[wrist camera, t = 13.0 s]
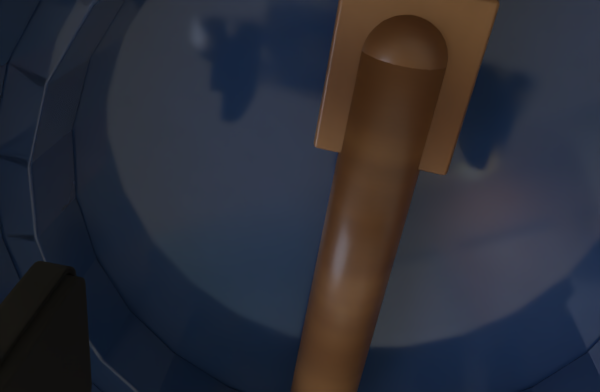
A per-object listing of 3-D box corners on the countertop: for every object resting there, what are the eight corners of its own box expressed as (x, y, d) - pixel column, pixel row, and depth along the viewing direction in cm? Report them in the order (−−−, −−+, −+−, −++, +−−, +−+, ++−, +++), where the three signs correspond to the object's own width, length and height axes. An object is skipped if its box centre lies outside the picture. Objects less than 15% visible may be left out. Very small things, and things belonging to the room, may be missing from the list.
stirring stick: (351, -37, 13) (339, -25, 11) (494, -11, 13) (504, 6, 11) (275, 383, 20) (260, 431, 18) (367, 407, 19) (362, 458, 17)
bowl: (-7, -276, 12) (-230, -368, 7) (937, -115, 11) (1289, -111, 7) (53, 379, 21) (-29, 509, 17) (568, 479, 21) (621, 638, 16)
